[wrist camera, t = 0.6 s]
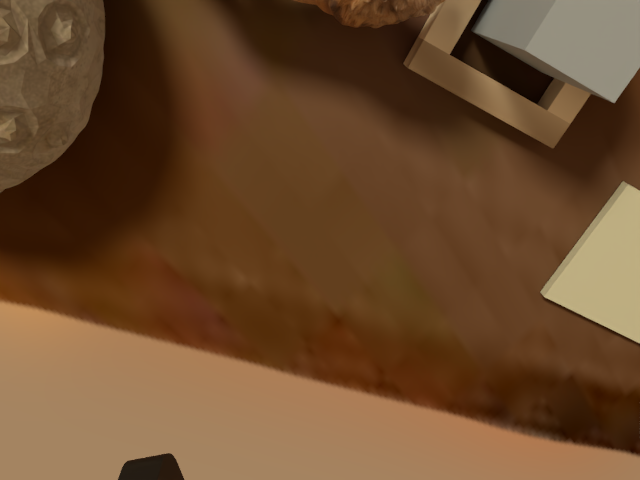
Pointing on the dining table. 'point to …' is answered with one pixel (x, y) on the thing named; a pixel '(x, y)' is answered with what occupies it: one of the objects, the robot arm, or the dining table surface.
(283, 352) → the dining table surface
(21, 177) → the decorative shell
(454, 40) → the pocket frame
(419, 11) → the lion figurine
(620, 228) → the tile
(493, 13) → the block
